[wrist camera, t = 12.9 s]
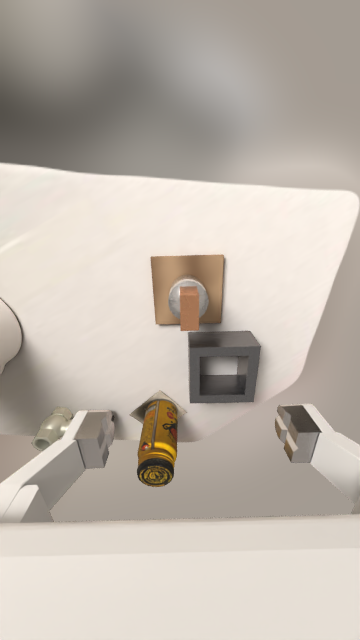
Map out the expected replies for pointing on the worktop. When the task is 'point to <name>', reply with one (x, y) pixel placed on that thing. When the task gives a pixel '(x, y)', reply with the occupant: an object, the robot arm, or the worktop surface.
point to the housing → (223, 385)
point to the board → (195, 265)
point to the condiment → (157, 439)
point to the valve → (53, 428)
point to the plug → (188, 301)
